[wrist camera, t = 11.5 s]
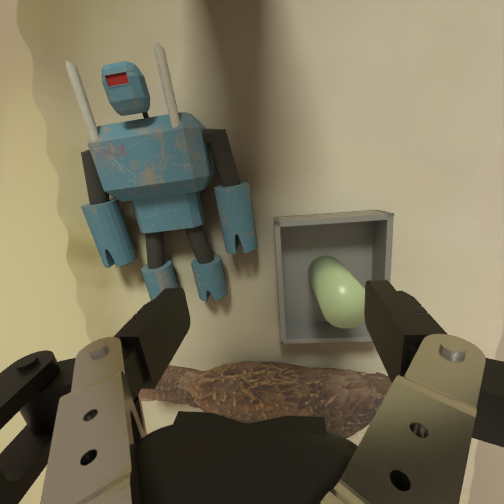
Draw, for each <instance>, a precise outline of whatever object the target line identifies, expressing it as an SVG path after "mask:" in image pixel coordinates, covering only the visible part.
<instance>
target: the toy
mask: <svg viewBox="0 0 504 504" xmlns="http://www.w3.org/2000/svg"><path fill="white" fill-rule="evenodd" d="M154 51H155V55H156V60H157V64H158V69H159V73H160V77H161V82H162V86H163V90H164V95H165V99H166V103H167V108H168V112H169V114H168V115H162V116H156V117H150V118H149V116H148V113H147V112H148V110H149V108H150V95H149V92H148V89H147V85H146V82H145V78H144V76H143V74H142V73H141V71H140V70H139V68H138V67H137V66H136V65H135V64H133V63H131V62H128V61H124V62H119V63H113V64H108V65H104V66H103V68H102V83H103V86H104V89H105V91H106V94H107V97H108V100H109V103H110V104H111V106H112V107H113V108H114V110H115V111H116V112H117V113H118V114H120V115H121V116H123V115H131V114H137V113H143V117H144V119H139V120H133V121H127V122H121V123H115V124H109V125H103V126H98V127H96V124H95V121H94V118H93V115H92V112H91V109H90V106H89V103H88V100H87V97H86V94H85V90H84V87H83V84H82V81H81V78H80V75H79V72H78V69H77V67H76V66H75V65H73V64H71V63H70V62H68V61H66V63H65V65H66V68H67V71H68V74H69V77H70V80H71V83H72V86H73V89H74V92H75V95H76V98H77V101H78V104H79V106H80V109H81V112H82V115H83V118H84V121H85V124H86V127H87V130H88V133H89V136H90V140H89V142H88V147H89V149H90V150H87V151H84V152H81V155H82V161H83V167H84V173H85V178H86V184H87V190H88V196H89V202H90V204H86V205H83V206H81V208H82V210H83V213H84V215H85V218H86V220H87V223H88V226H89V228H90V231H91V233H92V236H93V238H94V241H95V244H96V246H97V249H98V251H99V254H100V256H101V259H102V262H103V264H104V266H105V267H107V268H109V267H111V266H112V265H113V264H116V267H119V266H122V265H125V264H128V263H130V262H132V261H134V260H135V259H136V258H137V256H136V252H135V249H134V246H133V243H132V240H131V237H130V234H129V231H128V228H127V225H126V222H125V219H124V216H123V213H122V210H121V207H120V204H119V201H118V200H120V201H122V202H125V201H131V203H132V206H133V209H134V213H135V216H136V219H137V222H138V225H139V228H140V232H141V233H144V234H145V237H146V249H147V262H148V264H146V265H145V266H143V267H142V268H141V272H142V275H143V278H144V281H145V284H146V287H147V290H148V293H149V296H150V299H151V301H152V300H153V299H155V298H156V297H157V296H158V295H159V294H160V293H161V292H162V291H163V290H164V289H165V288H178V284H177V281H176V277H175V273H174V270H173V266H172V263H171V261H170V260H166V259H165V260H164V244H163V231H170V230H178V229H186V232H187V235H188V237H189V240H190V243H191V245H192V248H193V251H194V253H195V256H196V259H194V260H193V261H192V262H191V266H192V270H193V274H194V278H195V282H196V286H197V290H198V294H199V297H200V299H201V300H203V301H207V300H208V298H209V295H210V293H211V294H212V297H213V300H214V301H215V300H218V299H221V298H222V297H224V296H225V295H226V294H227V285H226V280H225V275H224V270H223V265H222V260H221V257H220V256H219V255H215V254H213V253H212V251H211V248H210V245H209V242H208V239H207V236H206V234H205V231H204V228H203V225H202V224H203V223H204V222H205V217H204V213H203V208H202V203H201V199H200V194H199V191H202V190H204V189H205V188H207V186H208V184H209V182H210V181H211V179H212V177H213V175H214V173H215V168H214V163H215V166H216V169H217V172H218V175H219V178H220V181H221V185H219V186H216V187H214V190H215V196H216V201H217V206H218V211H219V217H220V222H221V227H222V233H223V238H224V243H225V248H226V252H227V253H230V254H236V252H237V249H238V246H239V238H240V241H241V244H242V248H243V253H247V252H251V251H253V250H255V249H256V248H257V246H258V245H257V238H256V231H255V224H254V217H253V210H252V202H251V195H250V188H249V182H240V180H239V176H238V173H237V169H236V165H235V162H234V158H233V155H232V151H231V148H230V144H229V140H228V137H227V133H226V130H225V129H207V128H205V127H204V126H203V125H202V124H201V123H200V122H199V121H198V120H197V119H196V118H195V117H194V116H193V115H191V114H189V113H178V110H177V106H176V101H175V96H174V92H173V87H172V83H171V78H170V73H169V69H168V64H167V60H166V55H165V51H164V48H163V47H162V46H160V45H159V44H158V43H155V46H154ZM213 160H214V163H213ZM109 194H110V195H112V196H113V197H115V198H117V199H111V200H110V199H109ZM238 236H239V237H238Z"/></svg>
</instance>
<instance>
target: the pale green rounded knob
mask: <svg viewBox="0 0 504 504" xmlns="http://www.w3.org/2000/svg"><path fill="white" fill-rule="evenodd" d="M308 278H309V280H310V283H311V285H312V288H313V290H314V293H315V295H316V298H317V300H318V303H319V305H320V308H321V310H322V313H323V315H324V317H325V319H326V320H327V321H328V322H329V323H330V324H332V325H333V326H335V327H338V328H353V327H356V326H358V325H360V324H362V323H363V322H364V321H365V318H364V306H365V289H364V288H363V287H362V286H361V284H360V283H359V282H358V281H357V280H356V279H355V278H354V277H353V275H352V274H351V273H350V272H349V271H348V270H347V269H346V268H345V266H344V265H343V264H342V263H341V262H340V261H339V260H338V259H337V258H335V257H333V256H329V255H324V256H320V257H318V258H316V259H314V260H313V261H312V262H311V264H310V266H309V268H308Z"/></svg>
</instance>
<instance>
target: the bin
mask: <svg viewBox="0 0 504 504" xmlns="http://www.w3.org/2000/svg"><path fill="white" fill-rule="evenodd" d="M393 217H394V213H389V212H385V211H380V210H368V211H354V212H340V213H327V214H313V215H299V216H285V217H274V229H275V246H276V262H277V279H278V296H279V312H280V329H281V344H294V343H333V342H372V339H371V337H370V334H369V332H368V330H367V328H366V324H365V321H364V322H363V323H362V324H360V325H358V326H356V327H353V328H338V327H335V326H333V325H332V324H330V323H329V322H328V321H327V320H326V319H325V317H324V315H323V313H322V310H321V308H320V305H319V303H318V300H317V298H316V295H315V293H314V290H313V288H312V285H311V283H310V280H309V278H308V268H309V266H310V264H311V262H312V261H313V260H314V259H316V258H318V257H320V256H324V255H329V256H333V257H335V258H337V259H338V260H339V261H340V262H341V263H342V264H343V265H344V266H345V268H346V269H347V270H348V271H349V272H350V273H351V274H352V275H353V277H354V278H355V279H356V280H357V281H358V282H359V283H360V284H361V286H362V287H363V288H364V289H365V284H366V281H367V280H388V281H389V282H390V275H391V256H392V236H393Z"/></svg>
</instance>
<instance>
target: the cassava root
mask: <svg viewBox="0 0 504 504" xmlns="http://www.w3.org/2000/svg"><path fill="white" fill-rule="evenodd" d="M391 385H392V382H391V380H390V378H389V377H388V376H386V375H384V374H381V373H376V374H367V373H365V372H355V371H351V370H342V369H334V368H307V367H301V366H296V365H290V364H283V363H275V362H241V363H233V364H224V365H222V366H219V367H215V368H213V369H211V370H208V371H199V370H195V369H190V368H184V367H177V366H171V365H169V366H168V367H167V369H166V370H165V372H164V374H163V376H162V377H161V379H160V381H159V383H158V384H157V386H156V388H155V389H141V391H140V392H139V397H140V400H141V401H153V400H159V401H171V402H174V403H178V404H190V406H193V407H199V408H201V409H202V410H203V411H204V412H209V413H215V414H218V415H221V416H224V417H227V418H230V419H233V420H236V421H240V422H243V423H253V422H258V421H262V420H267V419H272V418H277V417H282V416H310V417H325V424H326V431H328V432H332V433H335V434H337V435H339V436H341V437H344V438H348V437H350V436H352V435H354V434H355V433H356V432H358V431H360V430H362V429H363V428H365V427H366V426H367V425H368V424H369V423H370V422H371V421H372V420H373V418H374V416H375V414H376V412H377V411H378V409H379V407H380V405H381V403H382V401H383V400H384V398H385V396H386V394H387V392H388V390H389V389H390V387H391Z"/></svg>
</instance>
